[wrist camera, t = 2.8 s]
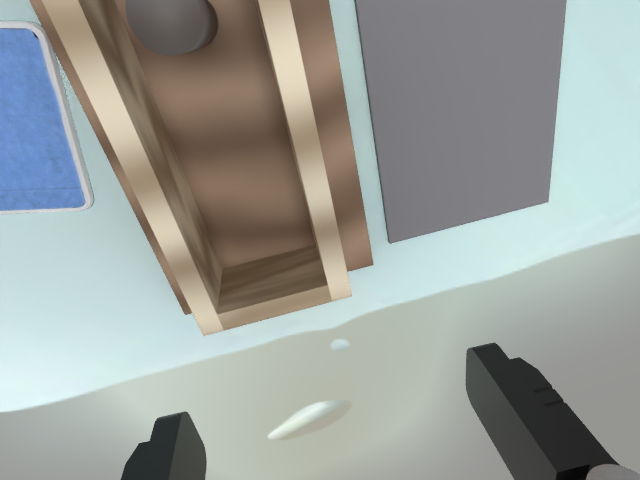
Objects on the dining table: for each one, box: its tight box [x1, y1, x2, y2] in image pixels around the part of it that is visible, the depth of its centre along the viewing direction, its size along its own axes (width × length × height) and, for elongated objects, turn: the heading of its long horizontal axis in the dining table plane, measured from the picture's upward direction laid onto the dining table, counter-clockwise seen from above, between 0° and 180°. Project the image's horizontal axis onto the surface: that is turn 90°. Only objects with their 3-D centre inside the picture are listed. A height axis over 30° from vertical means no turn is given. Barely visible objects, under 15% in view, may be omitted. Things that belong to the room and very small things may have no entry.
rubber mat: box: [355, 0, 566, 244], centre depth 28 cm, size 30×15×1 cm, turn 12°
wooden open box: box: [42, 0, 352, 336], centre depth 25 cm, size 24×11×6 cm, turn 12°
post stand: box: [30, 0, 373, 315], centre depth 24 cm, size 28×17×10 cm, turn 12°
